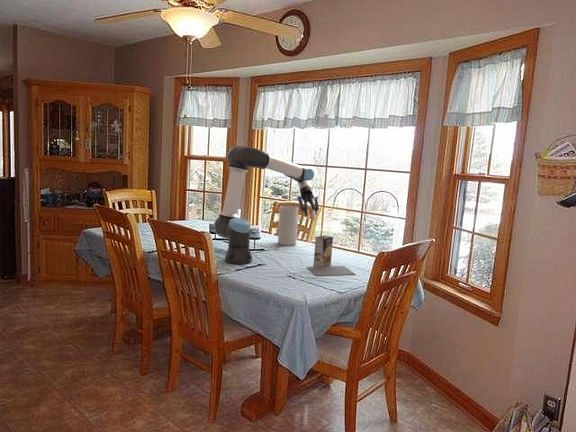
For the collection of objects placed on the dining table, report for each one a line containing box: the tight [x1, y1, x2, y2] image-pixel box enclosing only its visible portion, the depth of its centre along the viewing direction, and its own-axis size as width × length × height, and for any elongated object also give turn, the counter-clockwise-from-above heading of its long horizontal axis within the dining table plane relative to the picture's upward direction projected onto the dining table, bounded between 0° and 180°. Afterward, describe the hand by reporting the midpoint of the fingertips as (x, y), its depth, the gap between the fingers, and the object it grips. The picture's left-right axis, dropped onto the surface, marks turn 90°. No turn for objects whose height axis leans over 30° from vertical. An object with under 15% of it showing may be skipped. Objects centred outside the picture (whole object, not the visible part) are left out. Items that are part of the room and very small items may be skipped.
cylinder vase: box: [277, 205, 299, 247], centre depth 299 cm, size 12×12×25 cm
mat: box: [306, 265, 356, 277], centre depth 239 cm, size 22×16×1 cm
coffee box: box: [313, 235, 334, 267], centre depth 250 cm, size 9×6×16 cm
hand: (312, 219), depth 269 cm, fingers open, 3 cm apart
